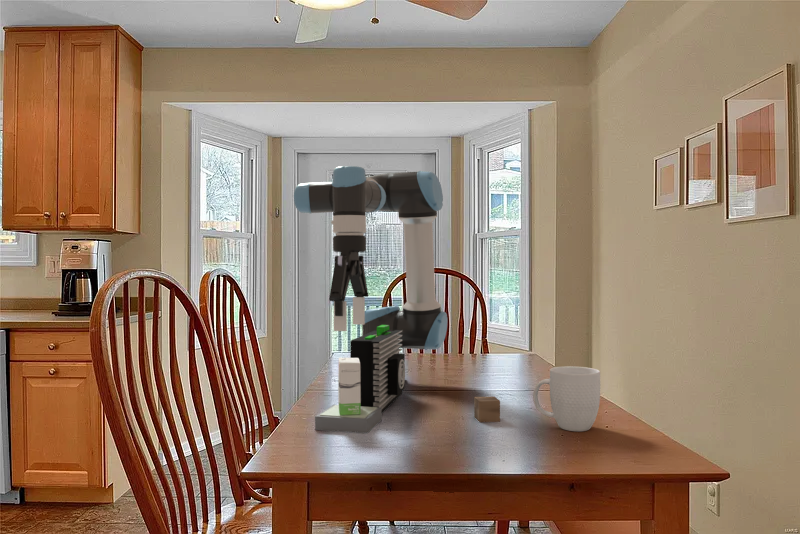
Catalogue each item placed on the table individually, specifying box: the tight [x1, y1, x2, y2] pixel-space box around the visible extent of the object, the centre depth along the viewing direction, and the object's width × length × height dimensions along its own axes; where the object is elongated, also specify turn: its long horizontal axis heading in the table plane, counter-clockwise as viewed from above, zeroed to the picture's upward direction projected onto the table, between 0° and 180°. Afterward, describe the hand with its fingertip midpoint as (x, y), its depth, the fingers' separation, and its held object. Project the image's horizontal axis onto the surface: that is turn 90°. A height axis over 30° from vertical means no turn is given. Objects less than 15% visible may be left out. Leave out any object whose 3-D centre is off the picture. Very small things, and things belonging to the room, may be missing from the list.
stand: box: [314, 404, 383, 434], centre depth 150 cm, size 12×12×3 cm
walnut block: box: [473, 396, 501, 423], centre depth 155 cm, size 5×5×5 cm
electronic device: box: [349, 325, 406, 414], centre depth 172 cm, size 28×11×20 cm, turn 168°
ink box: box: [337, 357, 361, 415], centre depth 149 cm, size 9×5×12 cm, turn 7°
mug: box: [532, 365, 601, 432], centre depth 148 cm, size 15×11×13 cm
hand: (349, 327), depth 150 cm, fingers open, 13 cm apart
